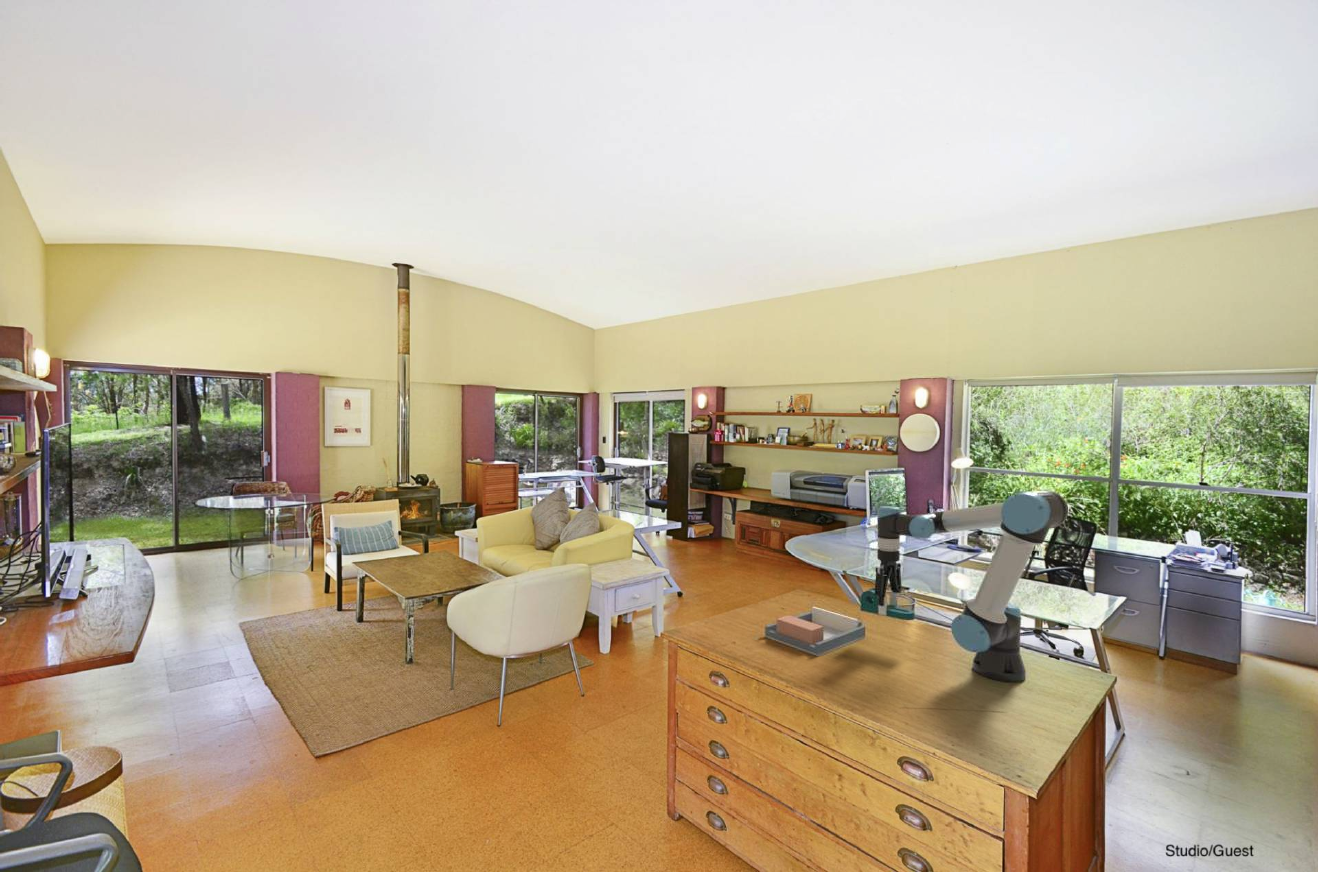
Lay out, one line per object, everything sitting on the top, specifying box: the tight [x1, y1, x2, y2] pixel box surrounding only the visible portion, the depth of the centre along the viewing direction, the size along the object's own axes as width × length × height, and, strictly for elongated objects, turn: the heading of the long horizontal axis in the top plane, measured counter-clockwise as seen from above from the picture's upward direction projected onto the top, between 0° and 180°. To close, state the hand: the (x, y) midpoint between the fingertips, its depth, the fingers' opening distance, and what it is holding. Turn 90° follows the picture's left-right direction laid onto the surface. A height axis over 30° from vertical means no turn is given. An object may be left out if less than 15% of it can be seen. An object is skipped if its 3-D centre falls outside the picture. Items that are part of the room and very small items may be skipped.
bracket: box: [860, 586, 916, 621], centre depth 214 cm, size 18×7×8 cm, turn 47°
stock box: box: [776, 614, 824, 646], centre depth 219 cm, size 7×16×7 cm, turn 40°
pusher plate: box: [811, 606, 859, 632], centre depth 233 cm, size 1×20×6 cm, turn 40°
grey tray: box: [764, 610, 866, 657], centre depth 225 cm, size 30×24×6 cm
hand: (888, 612), depth 214 cm, fingers closed on bracket, 7 cm apart
